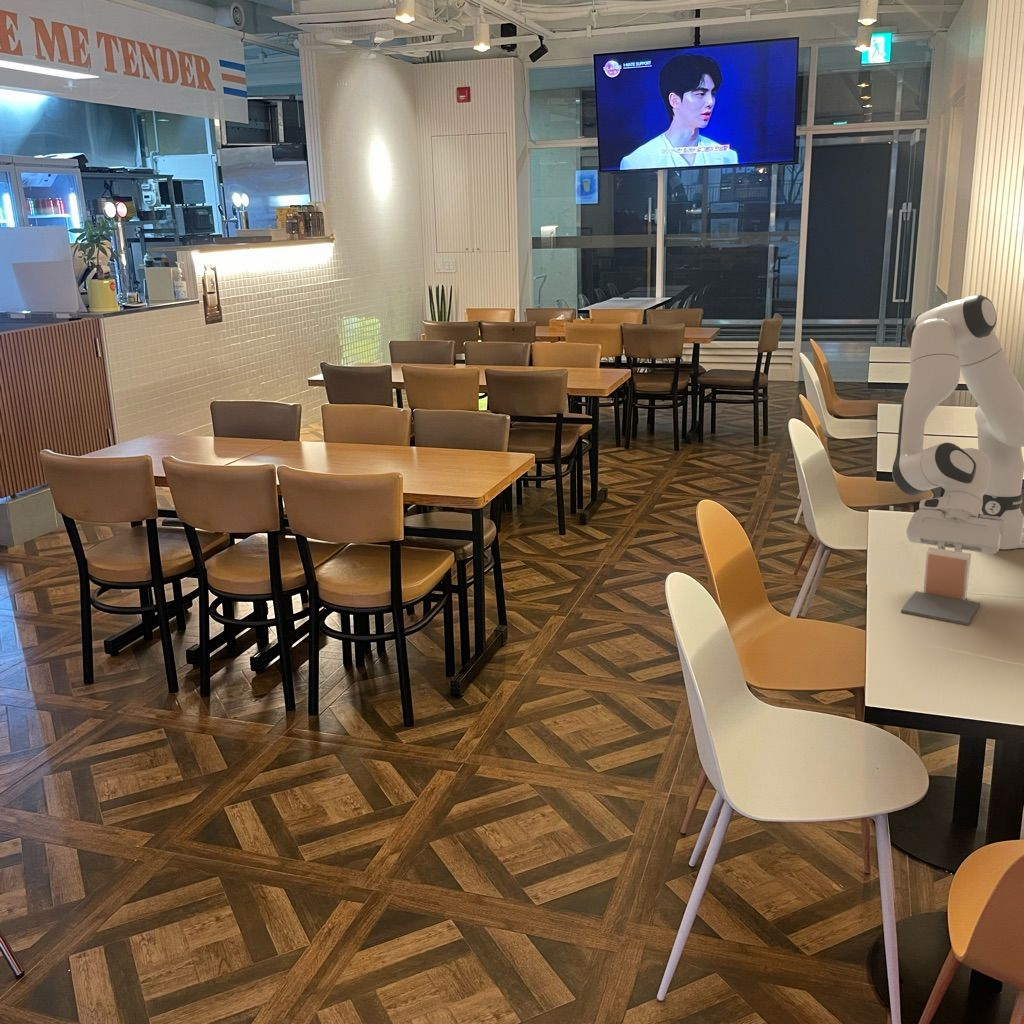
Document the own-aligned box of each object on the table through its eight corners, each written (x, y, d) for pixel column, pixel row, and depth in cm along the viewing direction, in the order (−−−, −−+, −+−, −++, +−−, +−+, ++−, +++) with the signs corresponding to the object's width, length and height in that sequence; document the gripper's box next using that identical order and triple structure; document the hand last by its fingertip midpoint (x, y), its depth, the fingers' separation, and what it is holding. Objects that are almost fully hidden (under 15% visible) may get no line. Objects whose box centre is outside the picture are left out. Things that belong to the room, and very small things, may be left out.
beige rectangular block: (926, 588, 235) (929, 547, 230) (966, 595, 230) (971, 553, 225) (923, 593, 232) (926, 552, 228) (964, 601, 228) (968, 559, 223)
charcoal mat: (915, 593, 232) (915, 590, 232) (980, 605, 225) (980, 602, 225) (900, 612, 221) (901, 609, 221) (968, 625, 214) (968, 622, 214)
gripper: (1008, 524, 231) (995, 576, 226) (917, 512, 243) (902, 561, 238) (1006, 510, 227) (993, 563, 222) (913, 499, 238) (899, 548, 233)
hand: (945, 562), depth 230 cm, fingers closed
